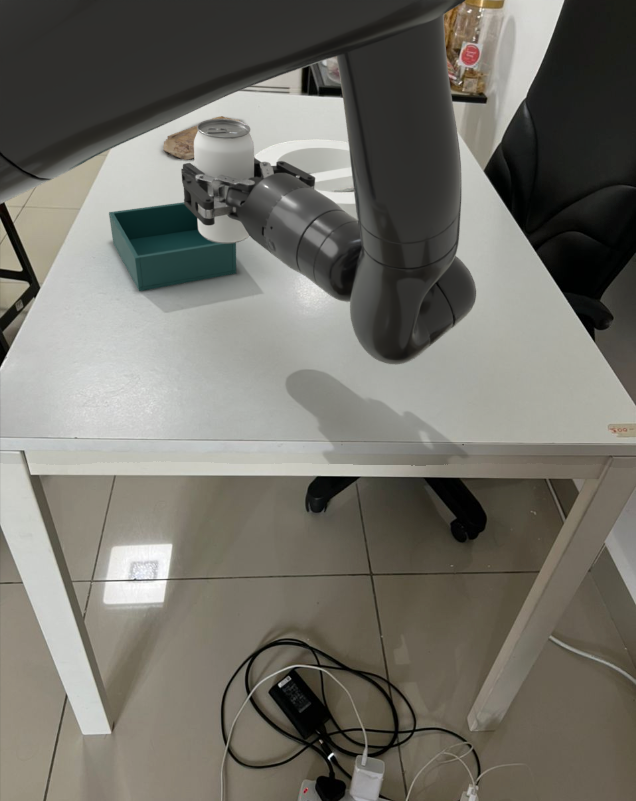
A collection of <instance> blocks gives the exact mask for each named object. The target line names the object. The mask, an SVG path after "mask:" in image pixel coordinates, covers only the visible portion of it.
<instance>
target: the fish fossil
mask: <svg viewBox="0 0 636 801" xmlns="http://www.w3.org/2000/svg"><path fill="white" fill-rule="evenodd" d="M211 119H231V120H236V121H240V122H241V119H238V118H237V119H235V118H231V117H225V116H223V115H221V116H216V117H212V118H210V119H209V120H211ZM197 132H198V130H197V125H194V126H192V127H189V128H187V129H184V130H181V131H178V132H175V133H171V134H170V135H168V136H167V138H166V139H165V141H163V147H162V148H163V152H166V153H168V154H170V155H172V156H175V157H177V158H179V159H181V160H185V161H186V160H192V159H194V139H195V137H196V134H197Z"/></svg>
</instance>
